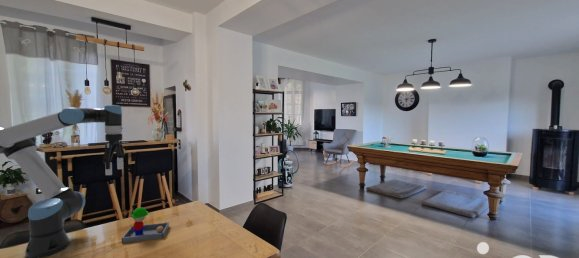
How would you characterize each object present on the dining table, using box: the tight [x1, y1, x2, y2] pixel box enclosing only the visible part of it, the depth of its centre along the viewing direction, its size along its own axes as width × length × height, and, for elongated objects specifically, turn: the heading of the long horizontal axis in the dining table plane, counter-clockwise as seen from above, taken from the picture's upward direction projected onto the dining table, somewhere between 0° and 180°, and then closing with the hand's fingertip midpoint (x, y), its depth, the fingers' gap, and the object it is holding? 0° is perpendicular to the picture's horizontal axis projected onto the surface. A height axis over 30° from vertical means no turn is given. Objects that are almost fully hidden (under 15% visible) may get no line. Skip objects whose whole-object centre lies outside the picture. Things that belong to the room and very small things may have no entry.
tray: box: [121, 222, 170, 244], centre depth 131 cm, size 19×13×3 cm
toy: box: [130, 206, 149, 236], centre depth 130 cm, size 8×8×15 cm
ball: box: [156, 226, 164, 233], centre depth 133 cm, size 4×4×4 cm
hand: (114, 172), depth 132 cm, fingers open, 13 cm apart
